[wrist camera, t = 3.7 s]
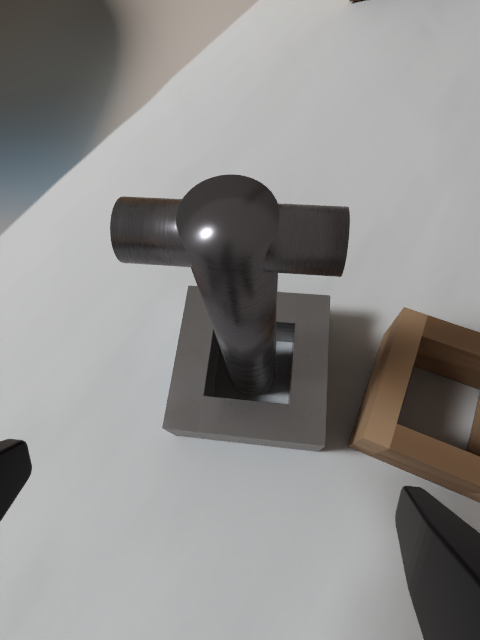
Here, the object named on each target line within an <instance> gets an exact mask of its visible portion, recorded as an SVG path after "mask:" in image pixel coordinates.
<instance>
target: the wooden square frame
mask: <svg viewBox="0 0 480 640" xmlns="http://www.w3.org/2000/svg"><path fill="white" fill-rule="evenodd" d="M413 365H414V366H417V367H419V368H422V369H425V370H428V371H430V372H433V373H436V374H438V375H441V376H444V377H447V378H449V379H452V380H455V381H458V382H460V383H463V384H466V385H469V386H471V387H474V388H477V389H480V333H479V332H476V331H473V330H470V329H467V328H464V327H461V326H458V325H455V324H452V323H449V322H446V321H443V320H440V319H437V318H435V317H432V316H429V315H426V314H423V313H420V312H417V311H414V310H411V309H408V308H405V307H404V308H403V309H402V311H401V312H400V313H399V315H398V316H397V317H396V319H395V320H394V322H393V323H392V324H391V326H390V327H389V328H388V330H387V331H386V333H385V334H384V336H383V339H382V342H381V345H380V348H379V351H378V354H377V357H376V361H375V364H374V367H373V370H372V373H371V376H370V379H369V382H368V385H367V388H366V391H365V395H364V398H363V401H362V404H361V407H360V410H359V413H358V416H357V419H356V422H355V425H354V429H353V432H352V435H351V438H350V441H349V444H348V447H350V448H352V449H355V450H357V451H360V452H362V453H364V454H367V455H369V456H371V457H374V458H376V459H378V460H381V461H383V462H386V463H388V464H390V465H393V466H395V467H397V468H400V469H402V470H404V471H407V472H409V473H412V474H414V475H416V476H419V477H421V478H423V479H426V480H428V481H431V482H433V483H435V484H438V485H440V486H442V487H445V488H447V489H449V490H452V491H454V492H457V493H459V494H461V495H464V496H466V497H468V498H471V499H473V500H475V501H478V502H480V394H479V398H478V403H477V407H476V412H475V416H474V421H473V425H472V430H471V434H470V439H469V443H468V448H467V451H464V450H462V449H459V448H457V447H454V446H452V445H449V444H447V443H444V442H442V441H439V440H437V439H434V438H432V437H429V436H427V435H424V434H422V433H419V432H417V431H414V430H412V429H409V428H407V427H404V426H402V425H399V424H397V421H398V417H399V414H400V410H401V407H402V403H403V400H404V396H405V393H406V389H407V386H408V382H409V379H410V375H411V372H412V368H413Z"/></svg>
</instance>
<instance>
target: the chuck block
mask: <svg viewBox="0 0 480 640" xmlns="http://www.w3.org/2000/svg"><path fill="white" fill-rule="evenodd" d="M329 316H330V296H328V295H314V294H299V293H285V292H277V318H276V341H288V342H293V344H292V359H291V373H290V388H289V402H288V404H279V403H269V402H259V401H249V400H239V399H229V398H219V397H213V392H214V385H215V377H216V370H217V363H218V356H219V349H220V346H219V343H218V340H217V338H216V335H215V332H214V329H213V327H212V324H211V321H210V318H209V316H208V313H207V310H206V307H205V305H204V302H203V299H202V296H201V294H200V291H199V288H198V286H188V291H187V297H186V302H185V308H184V313H183V319H182V324H181V329H180V335H179V340H178V346H177V351H176V357H175V362H174V368H173V373H172V379H171V384H170V389H169V395H168V400H167V406H166V411H165V417H164V422H163V429H165V430H167V431H168V432H170V433H172V434H174V435H176V436H184V437H193V438H202V439H211V440H220V441H229V442H238V443H247V444H256V445H264V446H273V447H282V448H291V449H300V450H309V451H318V452H319V451H320V450H321V449H322V448H324V447H325V439H326V408H327V378H328V347H329Z"/></svg>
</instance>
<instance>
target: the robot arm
mask: <svg viewBox="0 0 480 640" xmlns="http://www.w3.org/2000/svg"><path fill="white" fill-rule="evenodd" d="M31 470H32V465H31V460H30V456H29V451H28V446H27V444H26V442H25V441H23V440H16V439H7V440H4V441H0V521H1V520H2V518H3V517H4V515H5V514H6V512H7V511H8V509H9V508H10V506H11V504H12V503H13V501H14V500H15V498H16V497H17V495H18V494H19V492H20V491H21V489H22V488H23V486H24V485H25V483H26V482H27V480H28V479H29V477H30V474H31ZM395 521H396V528H397V534H398V539H399V544H400V549H401V554H402V559H403V564H404V570H405V575H406V580H407V584H408V589H409V592H410V596H411V599H412V603H413V606H414V609H415V612H416V615H417V619H418V622H419V625H420V628H421V631H422V635H423V638H424V640H480V533H479V532H477V531H476V530H475V529H474V528H472V527H471V526H470V525H468V524H467V523H466V522H465V521H463V520H462V519H461V518H460V517H458V516H457V515H456V514H455V513H453V512H452V511H451V510H449V509H448V508H447V507H446V506H444V505H443V504H442V503H441V502H439V501H438V500H437V499H436V498H434V497H433V496H432V495H430V494H429V493H428V492H427V491H425V490H424V489H422V488H420V487H412V486H404V487H403V488H402V490H401V493H400V497H399V501H398V506H397V510H396V516H395Z"/></svg>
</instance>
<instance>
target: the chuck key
mask: <svg viewBox="0 0 480 640" xmlns="http://www.w3.org/2000/svg"><path fill="white" fill-rule="evenodd" d="M349 225H350V215H349V208H348V207H342V206H320V205H297V204H278V203H277V201H276V199H275V197H274V195H273V194H272V192H271V191H270V190H269V189H268V188H267V187H266V186H264V185H263V184H262V183H260V182H258V181H257V180H254V179H252V178H249V177H246V176H241V175H221V176H216V177H213V178H210V179H207V180H205V181H203V182H201V183H199V184H197V185H196V186H195V187H193V188H192V189H191V190H190V191H189V192H188V193H187V194H186V195H185V196H184V198H183V199H165V198H142V197H120V198H119V199H118V200H117V201H116V203H115V205H114V207H113V211H112V215H111V224H110V233H111V242H112V247H113V250H114V253H115V255H116V257H117V259H118V260H119V261H120V262H122V263H135V264H150V265H166V266H181V267H191V269H192V272H193V274H194V277H195V280H196V283H197V285H198V288H199V291H200V294H201V296H202V299H203V302H204V305H205V307H206V310H207V313H208V316H209V318H210V321H211V324H212V327H213V329H214V332H215V335H216V338H217V340H218V343H219V346H220V348H221V351H222V354H223V357H224V359H225V362H226V365H227V368H228V370H229V373H230V376H231V379H232V381H233V384H234V385H235V387H236V388H237V389H238V390H239V391H240V392H242V393H244V394H247V395H259V394H262V393H264V392H266V391H267V390H268V389H269V388H270V387H271V385H272V384H273V382H274V378H275V354H276V318H277V281H278V273H290V274H306V275H322V276H337V277H341V276H342V273H343V270H344V266H345V261H346V256H347V249H348V240H349Z"/></svg>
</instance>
